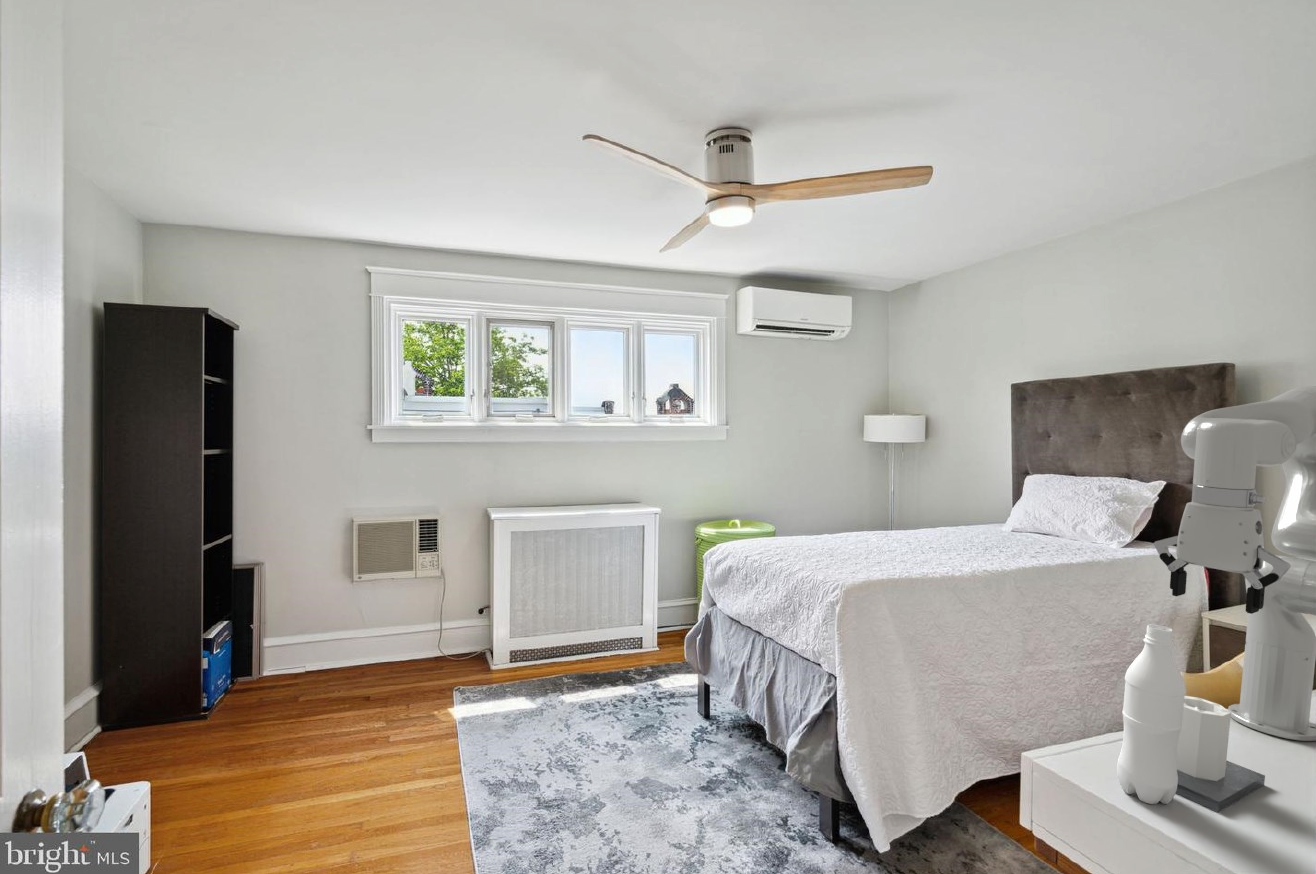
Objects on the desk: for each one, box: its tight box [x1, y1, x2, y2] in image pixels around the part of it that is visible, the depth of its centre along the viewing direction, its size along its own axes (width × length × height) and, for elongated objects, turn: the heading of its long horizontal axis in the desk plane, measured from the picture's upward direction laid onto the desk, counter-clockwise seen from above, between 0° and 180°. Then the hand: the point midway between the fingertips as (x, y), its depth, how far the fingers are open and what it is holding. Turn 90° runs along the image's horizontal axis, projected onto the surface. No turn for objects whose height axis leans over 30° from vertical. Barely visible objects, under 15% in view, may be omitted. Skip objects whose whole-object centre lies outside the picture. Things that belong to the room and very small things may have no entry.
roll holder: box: [1175, 706, 1266, 813], centre depth 103 cm, size 16×12×11 cm
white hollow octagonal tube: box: [1176, 695, 1232, 781], centre depth 103 cm, size 7×7×10 cm
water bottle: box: [1116, 623, 1187, 805], centre depth 97 cm, size 7×7×25 cm
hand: (1214, 603), depth 107 cm, fingers open, 9 cm apart
